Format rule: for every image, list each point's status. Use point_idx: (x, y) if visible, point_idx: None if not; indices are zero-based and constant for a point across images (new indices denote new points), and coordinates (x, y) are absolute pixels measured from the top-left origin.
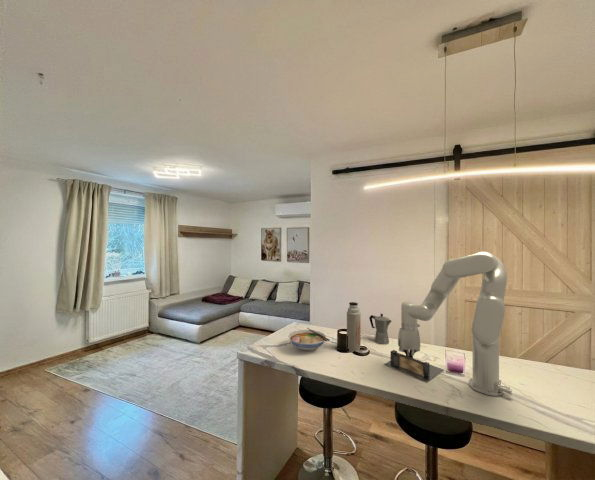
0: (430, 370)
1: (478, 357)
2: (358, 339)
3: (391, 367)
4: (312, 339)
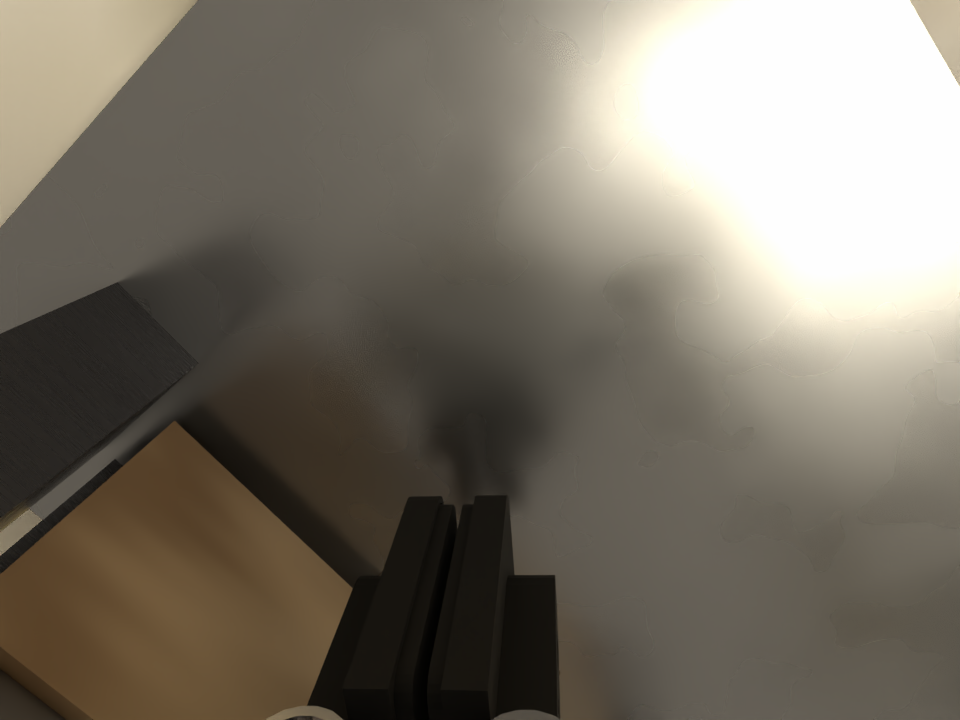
0: (896, 692)
1: None
2: None
3: (46, 507)
4: None
